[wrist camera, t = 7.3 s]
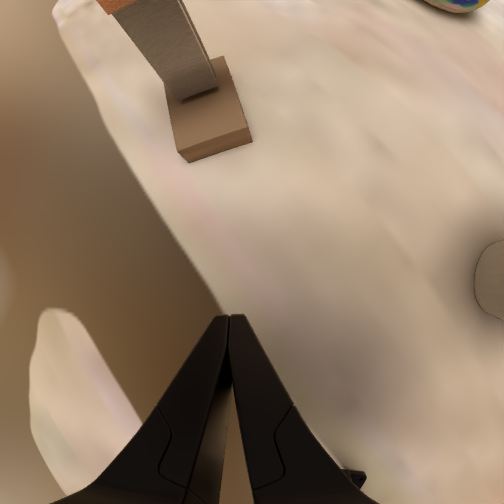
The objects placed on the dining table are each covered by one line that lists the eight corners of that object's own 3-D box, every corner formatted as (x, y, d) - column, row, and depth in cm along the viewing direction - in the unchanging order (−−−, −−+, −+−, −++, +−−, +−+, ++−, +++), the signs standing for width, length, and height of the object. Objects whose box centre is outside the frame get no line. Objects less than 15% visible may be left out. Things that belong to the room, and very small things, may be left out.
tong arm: (220, 87, 18) (153, -50, 7) (176, 103, 19) (83, -15, 7) (216, 73, 19) (151, -59, 7) (173, 89, 19) (87, -27, 7)
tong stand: (252, 141, 21) (189, -19, 7) (189, 163, 22) (63, 45, 7) (230, 73, 22) (171, -71, 7) (174, 93, 23) (80, -28, 8)
